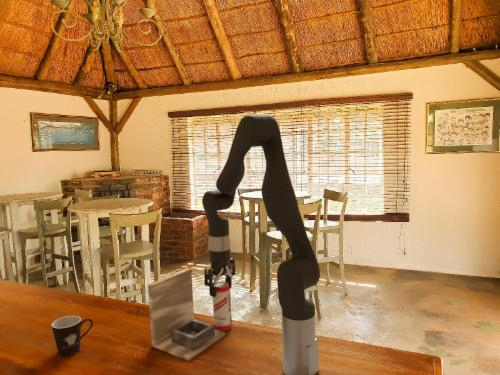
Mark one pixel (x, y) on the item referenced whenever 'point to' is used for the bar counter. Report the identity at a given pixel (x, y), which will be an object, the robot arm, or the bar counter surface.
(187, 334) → the can rack
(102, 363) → the bar counter surface
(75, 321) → the coffee mug
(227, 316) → the beer can
